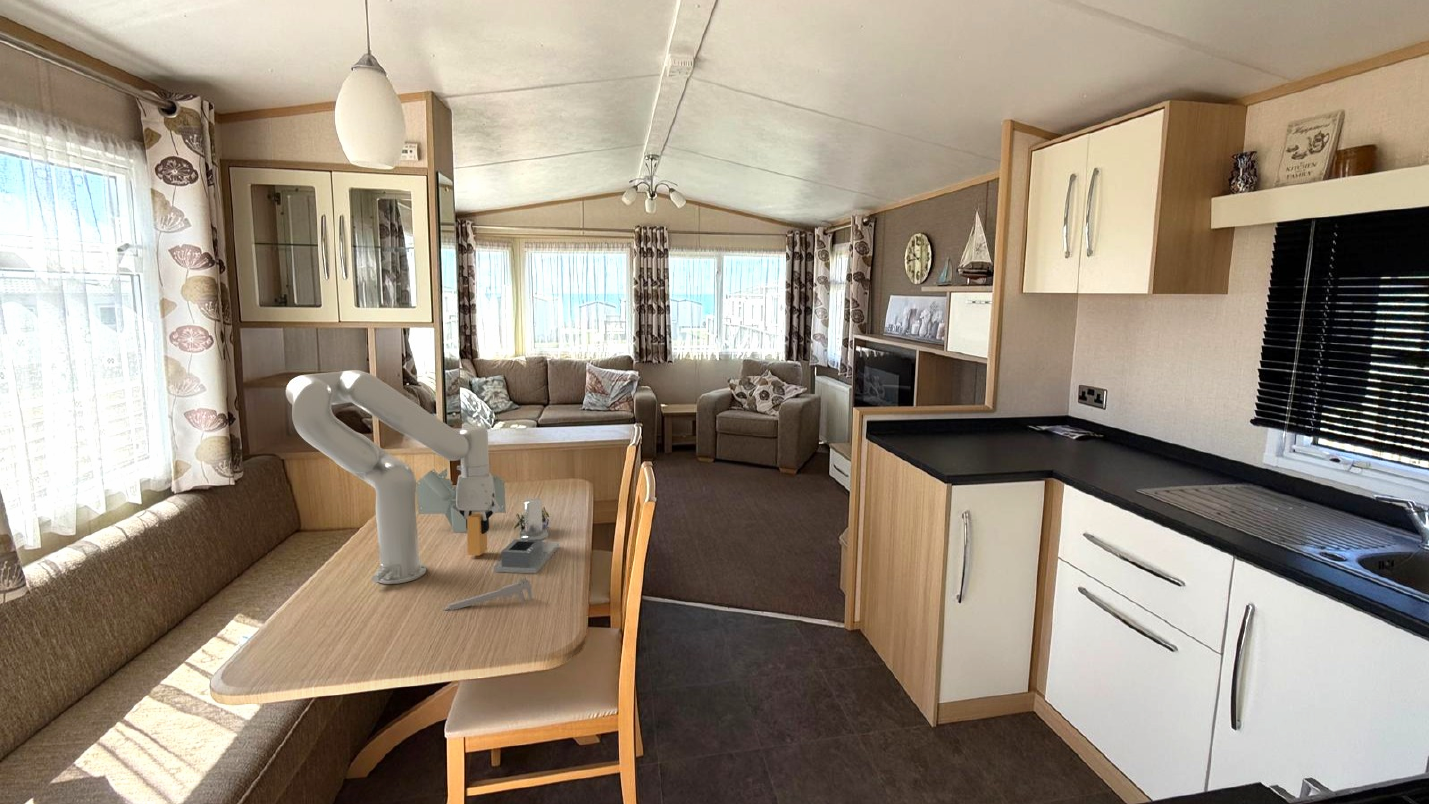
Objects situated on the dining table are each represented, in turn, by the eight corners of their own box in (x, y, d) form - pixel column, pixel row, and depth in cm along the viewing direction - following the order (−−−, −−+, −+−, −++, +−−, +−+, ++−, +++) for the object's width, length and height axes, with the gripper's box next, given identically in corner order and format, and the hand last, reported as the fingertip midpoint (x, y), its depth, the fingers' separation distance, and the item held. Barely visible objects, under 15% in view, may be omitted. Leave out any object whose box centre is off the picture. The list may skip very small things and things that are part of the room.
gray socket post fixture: (536, 573, 181) (533, 518, 179) (493, 571, 183) (490, 517, 180) (559, 547, 200) (557, 497, 198) (520, 545, 201) (518, 496, 199)
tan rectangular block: (479, 555, 191) (478, 517, 190) (467, 554, 191) (467, 517, 190) (487, 549, 196) (486, 513, 195) (475, 549, 196) (475, 512, 195)
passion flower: (544, 551, 211) (546, 529, 203) (509, 546, 209) (510, 524, 201) (551, 522, 219) (553, 499, 211) (517, 517, 218) (518, 494, 210)
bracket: (509, 523, 220) (506, 464, 217) (503, 531, 213) (500, 470, 210) (424, 525, 219) (419, 465, 215) (415, 533, 212) (411, 471, 208)
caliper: (532, 599, 167) (530, 575, 166) (532, 601, 166) (531, 577, 165) (444, 609, 161) (442, 585, 160) (443, 611, 160) (442, 587, 159)
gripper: (440, 472, 188) (444, 535, 191) (497, 474, 186) (500, 538, 189) (453, 465, 195) (456, 526, 198) (508, 468, 193) (510, 529, 196)
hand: (477, 531), depth 193 cm, fingers closed on tan rectangular block, 3 cm apart
